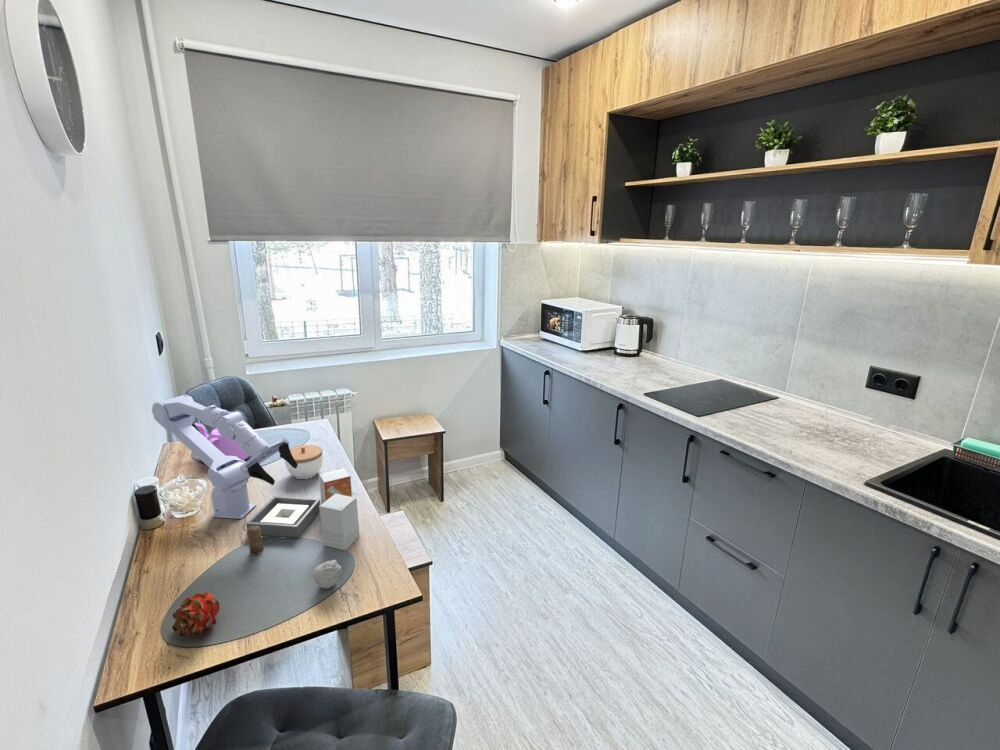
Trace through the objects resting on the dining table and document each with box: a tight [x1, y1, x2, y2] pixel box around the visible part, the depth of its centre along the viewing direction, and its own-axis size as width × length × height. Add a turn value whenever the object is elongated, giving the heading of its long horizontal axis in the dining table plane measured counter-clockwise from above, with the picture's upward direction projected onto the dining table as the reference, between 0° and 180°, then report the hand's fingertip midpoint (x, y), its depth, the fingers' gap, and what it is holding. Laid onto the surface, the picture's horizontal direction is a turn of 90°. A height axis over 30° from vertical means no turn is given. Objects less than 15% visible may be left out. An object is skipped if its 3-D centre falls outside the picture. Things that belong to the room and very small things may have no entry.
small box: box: [318, 467, 353, 504], centre depth 148 cm, size 8×6×13 cm
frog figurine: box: [312, 559, 342, 589], centre depth 117 cm, size 6×7×7 cm
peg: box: [246, 526, 264, 555], centre depth 130 cm, size 3×3×7 cm
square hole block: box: [245, 495, 321, 540], centre depth 143 cm, size 15×15×4 cm
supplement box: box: [319, 494, 360, 551], centre depth 134 cm, size 7×7×13 cm
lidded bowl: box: [284, 444, 323, 480], centre depth 171 cm, size 13×13×11 cm
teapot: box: [193, 422, 250, 461], centre depth 183 cm, size 22×22×14 cm
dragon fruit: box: [171, 590, 221, 639], centre depth 105 cm, size 8×8×12 cm
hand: (285, 474), depth 136 cm, fingers open, 7 cm apart
